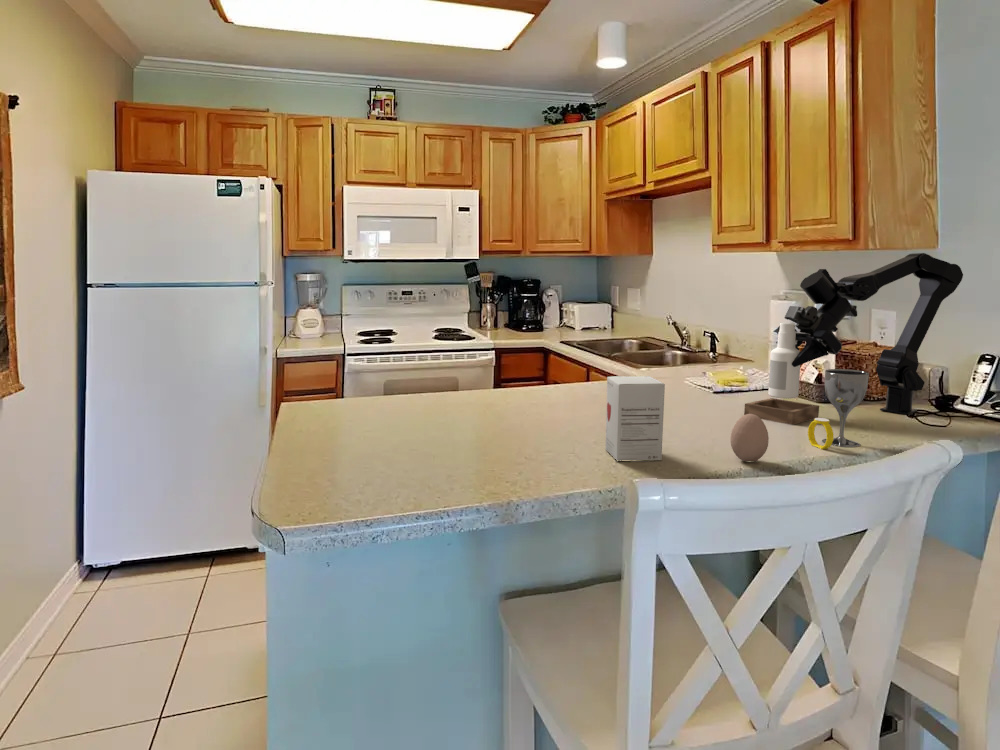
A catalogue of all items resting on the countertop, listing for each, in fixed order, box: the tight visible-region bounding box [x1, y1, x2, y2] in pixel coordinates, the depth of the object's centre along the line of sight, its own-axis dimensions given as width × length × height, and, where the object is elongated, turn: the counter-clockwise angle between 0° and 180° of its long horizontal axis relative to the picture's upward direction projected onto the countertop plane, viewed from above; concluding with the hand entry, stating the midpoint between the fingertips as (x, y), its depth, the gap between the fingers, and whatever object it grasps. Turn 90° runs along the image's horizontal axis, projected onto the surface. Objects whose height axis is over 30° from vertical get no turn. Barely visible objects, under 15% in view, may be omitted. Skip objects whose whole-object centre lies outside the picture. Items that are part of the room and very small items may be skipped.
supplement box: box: [605, 375, 666, 461], centre depth 124 cm, size 9×9×15 cm
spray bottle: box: [767, 322, 801, 400], centre depth 158 cm, size 7×7×18 cm
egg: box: [730, 414, 770, 462], centre depth 120 cm, size 7×7×9 cm
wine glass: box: [821, 368, 870, 448], centre depth 134 cm, size 8×8×15 cm
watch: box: [807, 417, 834, 450], centre depth 131 cm, size 6×3×6 cm, turn 12°
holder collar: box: [743, 397, 820, 425], centre depth 160 cm, size 12×12×3 cm
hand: (783, 363), depth 158 cm, fingers closed on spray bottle, 7 cm apart
